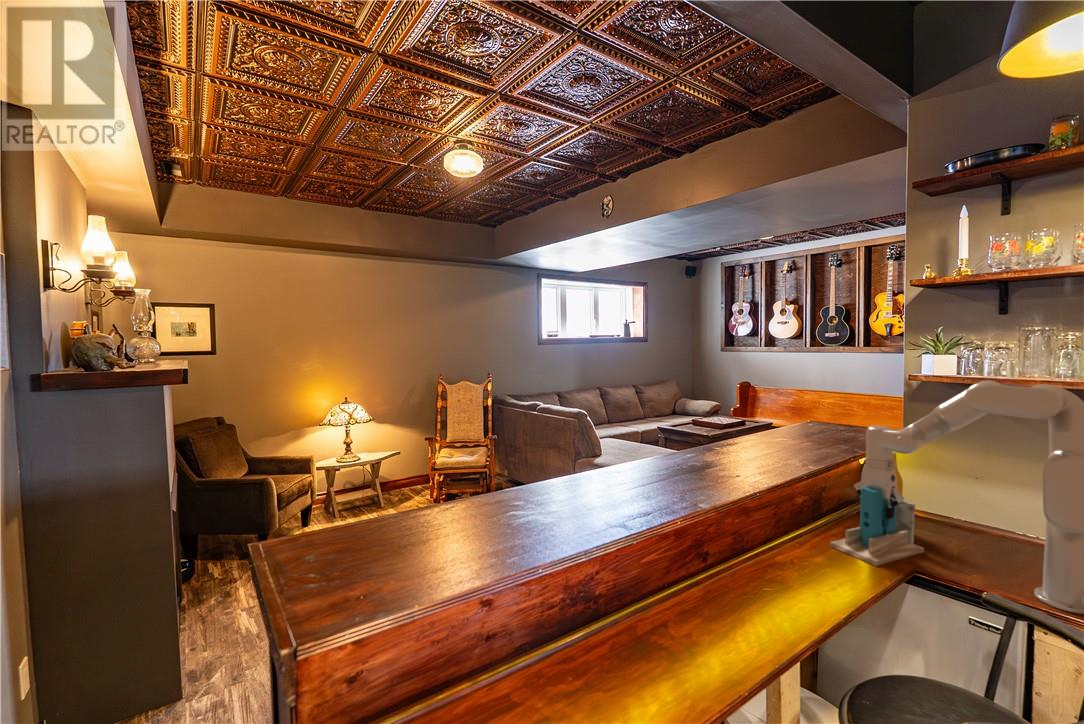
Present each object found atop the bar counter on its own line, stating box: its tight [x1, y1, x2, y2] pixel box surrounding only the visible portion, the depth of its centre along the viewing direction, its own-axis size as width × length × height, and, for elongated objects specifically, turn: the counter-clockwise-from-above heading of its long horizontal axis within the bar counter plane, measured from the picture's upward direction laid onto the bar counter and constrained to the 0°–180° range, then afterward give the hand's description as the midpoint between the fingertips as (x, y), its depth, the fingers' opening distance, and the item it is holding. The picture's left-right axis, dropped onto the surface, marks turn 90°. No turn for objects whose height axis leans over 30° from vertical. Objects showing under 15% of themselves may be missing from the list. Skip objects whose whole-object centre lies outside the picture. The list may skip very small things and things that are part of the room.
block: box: [859, 487, 897, 547], centre depth 172 cm, size 12×5×20 cm, turn 112°
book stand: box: [829, 500, 925, 567], centre depth 172 cm, size 16×24×16 cm, turn 112°
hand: (877, 513), depth 172 cm, fingers open, 7 cm apart
